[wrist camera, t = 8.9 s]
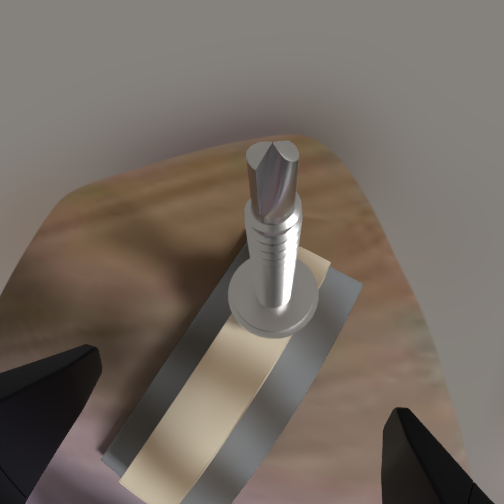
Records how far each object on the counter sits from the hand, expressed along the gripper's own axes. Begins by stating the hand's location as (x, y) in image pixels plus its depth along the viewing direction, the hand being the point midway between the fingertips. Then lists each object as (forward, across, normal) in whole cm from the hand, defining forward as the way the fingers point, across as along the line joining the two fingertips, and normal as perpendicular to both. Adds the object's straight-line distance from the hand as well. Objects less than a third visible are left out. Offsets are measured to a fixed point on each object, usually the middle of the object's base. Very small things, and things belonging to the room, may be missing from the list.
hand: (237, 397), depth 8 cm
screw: (+11, 0, +3) cm, 11 cm away
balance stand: (+10, +2, +9) cm, 13 cm away
